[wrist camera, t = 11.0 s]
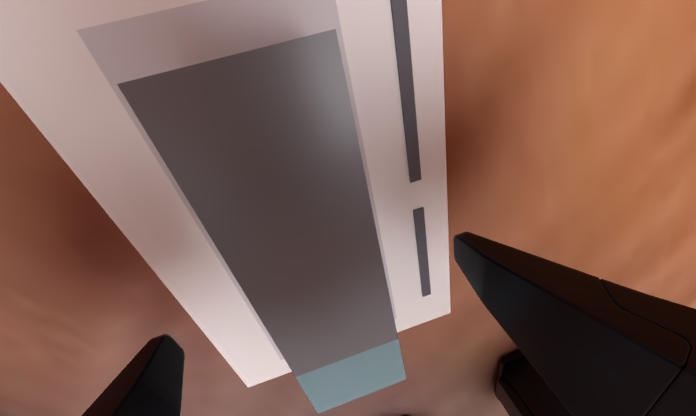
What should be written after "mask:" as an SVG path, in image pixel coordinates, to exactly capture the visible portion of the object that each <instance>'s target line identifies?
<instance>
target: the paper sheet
mask: <svg viewBox="0 0 696 416" xmlns="http://www.w3.org/2000/svg"><path fill="white" fill-rule="evenodd" d="M333 29H336V33H337V38H338V43H339V48H340V53H341V58H342V63H343V68H344V73H345V78H346V82H347V87H348V92H349V97H350V102H351V107H352V112H353V117H354V122H355V127H356V132H357V137H358V142H359V147H360V152H361V157H362V162H363V167H364V171H365V176H366V181H367V186H368V191H369V196H370V201H371V206H372V211H373V216H374V221H375V226H376V231H377V236H378V241H379V246H380V251H381V256H382V260H383V265H384V270H385V275H386V280H387V285H388V290H389V295H390V300H391V305H392V310H393V315H394V320H395V325H396V330H397V332H400V331H403V330H405V329H408V328H411V327H414V326H416V325H419V324H422V323H424V322H427V321H430V320H433V319H435V318H438V317H441V316H443V315H446V314H449V313H451V310H450V276H449V241H448V206H447V172H446V137H445V102H444V67H443V33H442V0H0V82H1V84H2V85H3V86H4V87H5V88H6V90H7V91H8V92H9V93H10V95H11V96H12V97H13V98H14V100H15V101H16V102H17V103H18V105H19V106H20V107H21V108H22V109H23V111H24V112H25V113H26V114H27V116H28V117H29V118H30V119H31V121H32V122H33V123H34V124H35V125H36V127H37V128H38V129H39V130H40V132H41V133H42V134H43V135H44V137H45V138H46V139H47V140H48V141H49V143H50V144H51V145H52V146H53V148H54V149H55V150H56V151H57V153H58V154H59V155H60V156H61V157H62V159H63V160H64V161H65V162H66V164H67V165H68V166H69V167H70V169H71V170H72V171H73V172H74V173H75V175H76V176H77V177H78V178H79V180H80V181H81V182H82V183H83V185H84V186H85V187H86V188H87V189H88V191H89V192H90V193H91V194H92V196H93V197H94V198H95V199H96V201H97V202H98V203H99V204H100V206H101V207H102V208H103V209H104V210H105V212H106V213H107V214H108V215H109V217H110V218H111V219H112V220H113V222H114V223H115V224H116V225H117V226H118V228H119V229H120V230H121V231H122V233H123V234H124V235H125V236H126V238H127V239H128V240H129V241H130V242H131V244H132V245H133V246H134V247H135V249H136V250H137V251H138V252H139V254H140V255H141V256H142V257H143V258H144V260H145V261H146V262H147V263H148V265H149V266H150V267H151V268H152V270H153V271H154V272H155V273H156V274H157V276H158V277H159V278H160V279H161V281H162V282H163V283H164V284H165V286H166V287H167V288H168V289H169V290H170V292H171V293H172V294H173V295H174V297H175V298H176V299H177V300H178V302H179V303H180V304H181V305H182V307H183V308H184V309H185V310H186V311H187V313H188V314H189V315H190V316H191V318H192V319H193V320H194V321H195V323H196V324H197V325H198V326H199V327H200V329H201V330H202V331H203V332H204V334H205V335H206V336H207V337H208V339H209V340H210V341H211V342H212V343H213V345H214V346H215V347H216V348H217V350H218V351H219V352H220V353H221V355H222V356H223V357H224V358H225V359H226V361H227V362H228V363H229V364H230V366H231V367H232V368H233V369H234V371H235V372H236V373H237V374H238V375H239V377H240V378H241V379H242V380H243V382H244V383H245V384H246V385H247V387H248V388H249V387H251V386H254V385H257V384H259V383H262V382H265V381H268V380H270V379H273V378H276V377H278V376H281V375H284V374H286V373H289V372H292V370H291V369H290V367H289V366H288V364H287V362H286V361H285V359H284V357H283V356H282V354H281V352H280V351H279V349H278V348H277V346H276V344H275V343H274V341H273V339H272V338H271V336H270V334H269V333H268V331H267V330H266V328H265V326H264V325H263V323H262V321H261V320H260V318H259V316H258V315H257V313H256V311H255V310H254V308H253V307H252V305H251V303H250V302H249V300H248V298H247V297H246V295H245V293H244V292H243V290H242V289H241V287H240V285H239V284H238V282H237V280H236V279H235V277H234V275H233V274H232V272H231V270H230V269H229V267H228V266H227V264H226V262H225V261H224V259H223V257H222V256H221V254H220V252H219V251H218V249H217V248H216V246H215V244H214V243H213V241H212V239H211V238H210V236H209V234H208V233H207V231H206V230H205V228H204V226H203V225H202V223H201V221H200V220H199V218H198V216H197V215H196V213H195V211H194V210H193V208H192V207H191V205H190V203H189V202H188V200H187V198H186V197H185V195H184V193H183V192H182V190H181V189H180V187H179V185H178V184H177V182H176V180H175V179H174V177H173V175H172V174H171V172H170V170H169V169H168V167H167V166H166V164H165V162H164V161H163V159H162V157H161V156H160V154H159V152H158V151H157V149H156V148H155V146H154V144H153V143H152V141H151V139H150V138H149V136H148V134H147V133H146V131H145V129H144V128H143V126H142V125H141V123H140V121H139V120H138V118H137V116H136V115H135V113H134V111H133V110H132V108H131V107H130V105H129V103H128V102H127V100H126V98H125V97H124V95H123V93H122V92H121V90H120V89H119V87H118V85H117V84H119V83H123V82H127V81H131V80H135V79H139V78H143V77H147V76H151V75H155V74H159V73H163V72H167V71H171V70H175V69H179V68H182V67H186V66H190V65H194V64H198V63H202V62H206V61H210V60H214V59H218V58H222V57H226V56H230V55H234V54H238V53H242V52H246V51H250V50H254V49H258V48H262V47H266V46H270V45H274V44H278V43H281V42H285V41H289V40H293V39H297V38H301V37H305V36H309V35H313V34H317V33H321V32H325V31H329V30H333Z"/></svg>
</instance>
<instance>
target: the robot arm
mask: <svg viewBox="0 0 696 416" xmlns="http://www.w3.org/2000/svg"><path fill="white" fill-rule="evenodd" d="M454 258H455V260H456V262H457V264H458V265H459V267H460V268H461V270H462V272H463V273H464V275H465V276H466V278H467V279H468V281H469V283H470V284H471V286H472V287H473V289H474V290H475V292H476V294H477V295H478V297H479V298H480V300H481V301H482V302H483V304H484V305H485V306H486V308H487V309H488V310H489V312H490V313H491V314H492V315H493V317H494V318H495V319H496V320H497V322H498V323H499V324H500V325H501V327H502V328H503V329H504V330H505V332H506V333H507V334H508V335H509V337H510V338H511V339H512V340H513V342H514V343H515V344H516V345H517V347H518V348H519V349H520V350H521V351H518V352H516V353H513V354H511V355H508V356H506V357H504V358H502V359H501V360H500V362H499V369H498V377H497V384H496V391H495V396H496V397H497V399H498V400H500V402H501V403H502V405H503V406H504V408H505V409H506V411H507V412H508V414H509V415H510V416H696V309H694V308H691V307H687V306H684V305H680V304H677V303H674V302H671V301H667V300H664V299H661V298H658V297H654V296H651V295H648V294H645V293H642V292H639V291H636V290H633V289H630V288H627V287H624V286H621V285H618V284H615V283H612V282H610V281H607V280H604V279H599V278H598V277H595V276H592V275H589V274H586V273H584V272H581V271H578V270H575V269H572V268H569V267H566V266H564V265H561V264H558V263H555V262H552V261H549V260H546V259H544V258H541V257H538V256H535V255H532V254H529V253H527V252H524V251H521V250H518V249H515V248H512V247H509V246H507V245H504V244H501V243H498V242H495V241H492V240H489V239H487V238H484V237H481V236H478V235H475V234H472V233H469V232H463V233H460V234H457V235H455V236H454ZM184 360H185V355H184V351H183V349H182V348H181V347H180V346H179V344H178V343H177V342H176V341H175V340H174V339H173V338H172V337H171V336H170V335H168V334H164V335H161V336H158V337H155V338H153V339H151V340H150V341H149V342H148V343H147V344H146V345H145V346H144V347H143V348H142V349H141V350H140V352H139V353H138V354H137V355H136V356H135V357H134V358H133V359H132V360H131V362H130V363H129V364H128V365H127V366H126V367H125V368H124V369H123V370H122V371H121V373H120V374H119V375H118V376H117V377H116V378H115V379H114V380H113V381H112V383H111V384H110V385H109V386H108V387H107V388H106V389H105V390H104V391H103V393H102V394H101V395H100V396H99V397H98V398H97V399H96V400H95V401H94V403H93V404H92V405H91V406H90V407H89V408H88V409H87V410H86V411H85V413H84V414H83V415H82V416H180V411H181V401H182V387H183V373H184Z"/></svg>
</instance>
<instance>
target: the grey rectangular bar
mask: <svg viewBox="0 0 696 416" xmlns="http://www.w3.org/2000/svg"><path fill="white" fill-rule="evenodd" d="M117 85H118V87H119V89H120V90H121V92H122V93H123V95H124V97H125V98H126V100H127V102H128V103H129V105H130V107H131V108H132V110H133V111H134V113H135V115H136V116H137V118H138V120H139V121H140V123H141V125H142V126H143V128H144V129H145V131H146V133H147V134H148V136H149V138H150V139H151V141H152V143H153V144H154V146H155V148H156V149H157V151H158V152H159V154H160V156H161V157H162V159H163V161H164V162H165V164H166V166H167V167H168V169H169V170H170V172H171V174H172V175H173V177H174V179H175V180H176V182H177V184H178V185H179V187H180V189H181V190H182V192H183V193H184V195H185V197H186V198H187V200H188V202H189V203H190V205H191V207H192V208H193V210H194V211H195V213H196V215H197V216H198V218H199V220H200V221H201V223H202V225H203V226H204V228H205V230H206V231H207V233H208V234H209V236H210V238H211V239H212V241H213V243H214V244H215V246H216V248H217V249H218V251H219V252H220V254H221V256H222V257H223V259H224V261H225V262H226V264H227V266H228V267H229V269H230V270H231V272H232V274H233V275H234V277H235V279H236V280H237V282H238V284H239V285H240V287H241V289H242V290H243V292H244V293H245V295H246V297H247V298H248V300H249V302H250V303H251V305H252V307H253V308H254V310H255V311H256V313H257V315H258V316H259V318H260V320H261V321H262V323H263V325H264V326H265V328H266V330H267V331H268V333H269V334H270V336H271V338H272V339H273V341H274V343H275V344H276V346H277V348H278V349H279V351H280V352H281V354H282V356H283V357H284V359H285V361H286V362H287V364H288V366H289V367H290V369H291V370H292V372H293V374H294V375H295V377H296V379H297V380H298V382H299V384H300V385H301V387H302V389H303V390H304V392H305V393H306V395H307V397H308V398H309V400H310V402H311V403H312V405H313V407H314V408H315V410H316V411H317V413H318V414H319V413H321V412H324V411H326V410H329V409H331V408H334V407H336V406H339V405H342V404H344V403H347V402H349V401H352V400H354V399H357V398H360V397H362V396H365V395H367V394H370V393H372V392H375V391H378V390H380V389H383V388H385V387H388V386H390V385H393V384H396V383H398V382H401V381H403V380H406V374H405V369H404V364H403V359H402V354H401V349H400V345H399V340H398V335H397V330H396V325H395V320H394V315H393V310H392V305H391V300H390V295H389V290H388V285H387V280H386V275H385V270H384V265H383V260H382V256H381V251H380V246H379V241H378V236H377V231H376V226H375V221H374V216H373V211H372V206H371V201H370V196H369V191H368V186H367V181H366V176H365V171H364V167H363V162H362V157H361V152H360V147H359V142H358V137H357V132H356V127H355V122H354V117H353V112H352V107H351V102H350V97H349V92H348V87H347V82H346V78H345V73H344V68H343V63H342V58H341V53H340V48H339V43H338V38H337V33H336V29H333V30H329V31H325V32H321V33H317V34H313V35H309V36H305V37H301V38H297V39H293V40H289V41H285V42H281V43H278V44H274V45H270V46H266V47H262V48H258V49H254V50H250V51H246V52H242V53H238V54H234V55H230V56H226V57H222V58H218V59H214V60H210V61H206V62H202V63H198V64H194V65H190V66H186V67H182V68H179V69H175V70H171V71H167V72H163V73H159V74H155V75H151V76H147V77H143V78H139V79H135V80H131V81H127V82H123V83H119V84H117Z"/></svg>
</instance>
